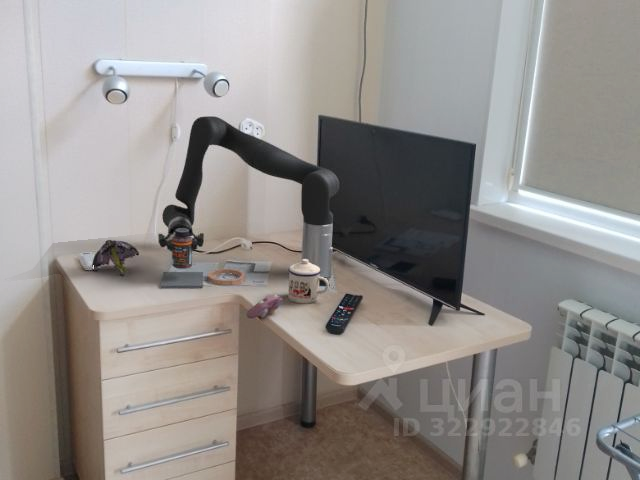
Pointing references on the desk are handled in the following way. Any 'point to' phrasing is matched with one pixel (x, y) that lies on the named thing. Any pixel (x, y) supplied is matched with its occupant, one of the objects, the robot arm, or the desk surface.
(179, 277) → the grey mat
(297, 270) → the teacup with lid
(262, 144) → the robot arm
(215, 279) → the terracotta ring
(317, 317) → the desk surface
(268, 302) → the video game controller
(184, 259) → the supplement bottle
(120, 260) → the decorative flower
